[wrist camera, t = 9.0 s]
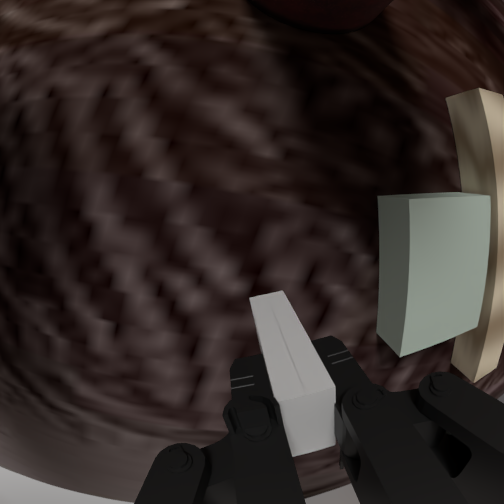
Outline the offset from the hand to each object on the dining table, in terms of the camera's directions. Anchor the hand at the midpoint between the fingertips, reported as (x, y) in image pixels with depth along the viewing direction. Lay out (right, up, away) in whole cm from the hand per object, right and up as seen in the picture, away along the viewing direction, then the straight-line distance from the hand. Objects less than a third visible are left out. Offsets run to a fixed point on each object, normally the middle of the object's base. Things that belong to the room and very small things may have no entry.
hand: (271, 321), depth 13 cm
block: (+12, +2, +6) cm, 14 cm away
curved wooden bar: (+18, +4, +6) cm, 20 cm away
